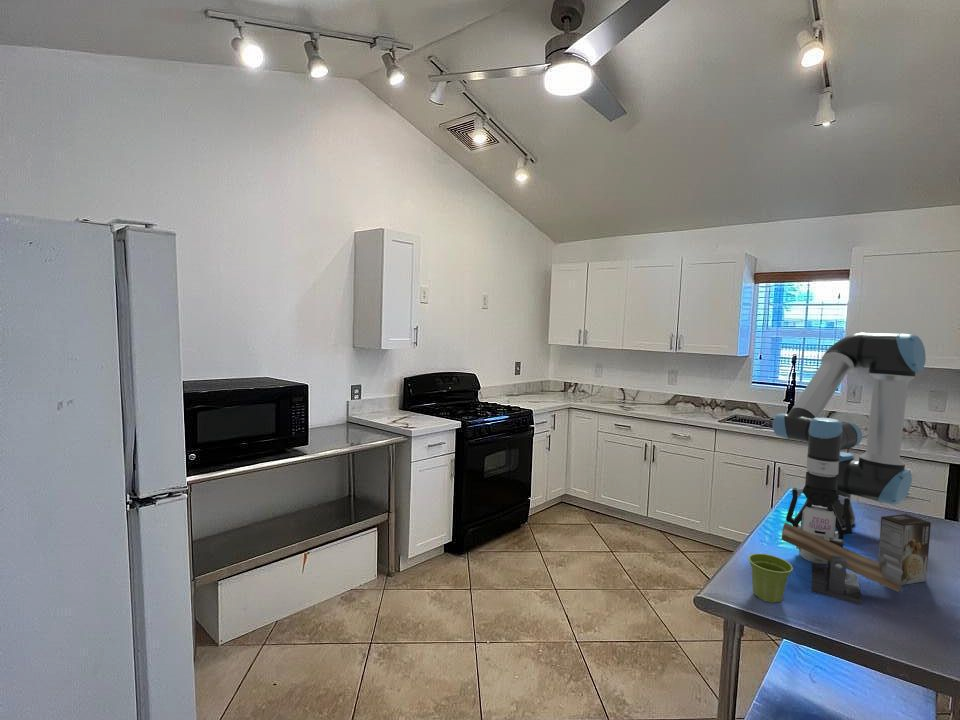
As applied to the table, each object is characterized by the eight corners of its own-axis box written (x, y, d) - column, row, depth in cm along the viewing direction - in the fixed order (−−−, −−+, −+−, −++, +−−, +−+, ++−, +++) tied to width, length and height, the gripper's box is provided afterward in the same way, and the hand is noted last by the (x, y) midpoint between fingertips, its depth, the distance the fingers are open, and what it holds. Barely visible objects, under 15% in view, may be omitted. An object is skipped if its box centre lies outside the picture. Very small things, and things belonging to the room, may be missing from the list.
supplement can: (819, 552, 150) (823, 502, 148) (840, 565, 141) (844, 512, 140) (792, 551, 149) (795, 501, 148) (811, 565, 141) (815, 512, 140)
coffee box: (901, 570, 139) (906, 513, 138) (927, 582, 133) (932, 522, 132) (875, 574, 137) (880, 515, 136) (901, 586, 131) (906, 525, 130)
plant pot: (789, 593, 126) (792, 559, 125) (790, 611, 117) (793, 575, 117) (747, 583, 130) (749, 550, 130) (745, 599, 122) (747, 564, 122)
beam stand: (811, 566, 140) (813, 533, 140) (856, 577, 135) (859, 542, 134) (811, 592, 126) (814, 555, 126) (861, 605, 121) (865, 566, 120)
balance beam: (782, 527, 141) (788, 512, 140) (892, 574, 128) (899, 559, 127) (781, 539, 132) (787, 524, 131) (898, 592, 120) (906, 575, 119)
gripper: (778, 469, 146) (772, 546, 148) (870, 483, 135) (863, 566, 136) (779, 464, 152) (774, 537, 154) (867, 476, 141) (860, 556, 143)
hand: (816, 551), depth 145 cm, fingers closed on supplement can, 8 cm apart
